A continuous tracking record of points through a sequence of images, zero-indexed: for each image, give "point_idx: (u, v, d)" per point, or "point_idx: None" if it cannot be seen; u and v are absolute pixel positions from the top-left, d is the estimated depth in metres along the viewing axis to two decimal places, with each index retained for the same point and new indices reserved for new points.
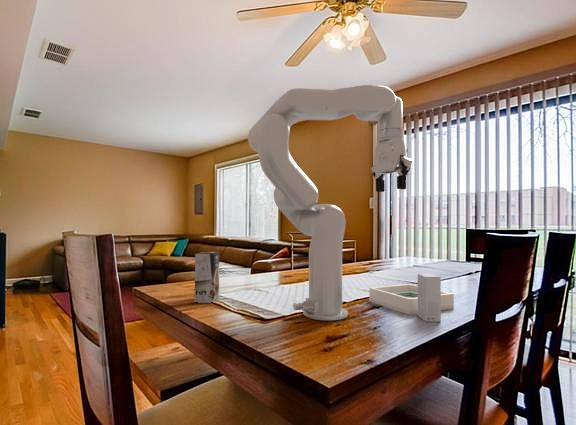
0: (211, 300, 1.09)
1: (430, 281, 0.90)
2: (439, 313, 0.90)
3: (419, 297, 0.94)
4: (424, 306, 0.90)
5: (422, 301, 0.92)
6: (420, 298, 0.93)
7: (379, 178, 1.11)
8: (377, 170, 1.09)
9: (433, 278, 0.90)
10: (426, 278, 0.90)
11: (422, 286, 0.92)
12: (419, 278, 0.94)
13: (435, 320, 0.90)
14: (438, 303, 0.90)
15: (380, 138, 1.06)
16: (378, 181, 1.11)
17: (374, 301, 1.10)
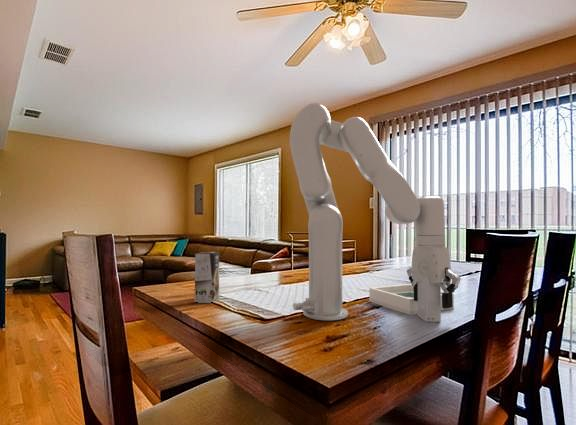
0: (211, 300, 1.09)
1: None
2: (439, 313, 0.90)
3: (419, 297, 0.94)
4: (424, 306, 0.90)
5: (422, 301, 0.92)
6: (420, 298, 0.93)
7: (417, 285, 0.97)
8: (416, 279, 0.94)
9: None
10: (426, 278, 0.90)
11: (422, 286, 0.92)
12: None
13: (435, 320, 0.90)
14: (438, 303, 0.90)
15: (419, 245, 0.92)
16: (416, 289, 0.96)
17: (374, 301, 1.10)
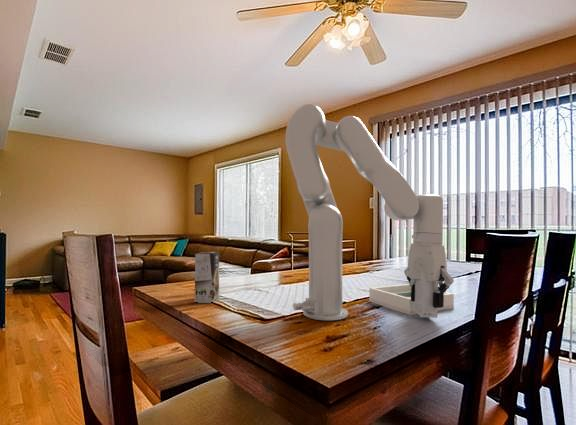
0: (211, 300, 1.09)
1: None
2: (436, 309, 0.90)
3: (416, 293, 0.94)
4: (421, 302, 0.90)
5: (419, 296, 0.92)
6: (417, 294, 0.93)
7: None
8: (411, 276, 0.94)
9: None
10: (424, 274, 0.90)
11: (420, 282, 0.92)
12: None
13: (432, 316, 0.90)
14: None
15: (416, 242, 0.92)
16: (414, 289, 0.96)
17: (374, 301, 1.10)
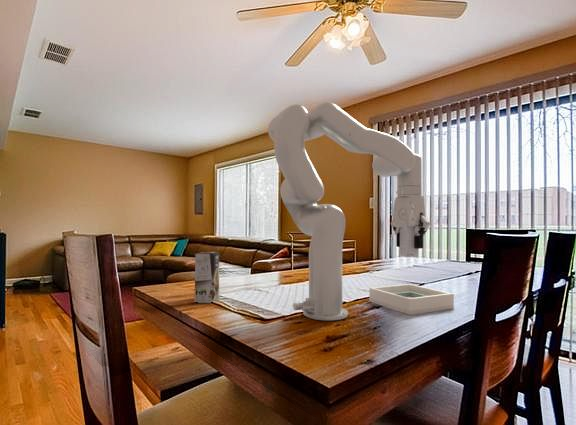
0: (211, 300, 1.09)
1: None
2: (417, 250, 1.06)
3: (401, 239, 1.10)
4: (405, 244, 1.06)
5: (403, 240, 1.08)
6: (401, 239, 1.09)
7: None
8: (396, 225, 1.10)
9: None
10: (406, 220, 1.06)
11: (403, 228, 1.08)
12: None
13: (413, 256, 1.06)
14: None
15: (399, 194, 1.08)
16: (399, 236, 1.12)
17: (374, 301, 1.10)
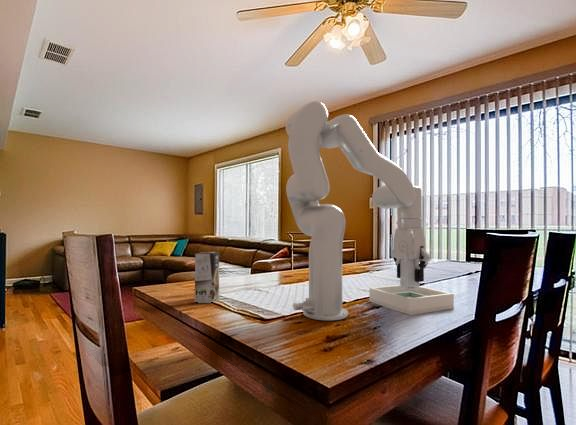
0: (211, 300, 1.09)
1: None
2: (417, 283, 1.05)
3: (401, 270, 1.10)
4: (405, 277, 1.06)
5: (404, 273, 1.07)
6: (402, 271, 1.09)
7: None
8: (396, 256, 1.10)
9: None
10: (407, 253, 1.06)
11: (404, 260, 1.07)
12: None
13: (414, 289, 1.05)
14: None
15: (400, 227, 1.08)
16: (399, 268, 1.11)
17: (374, 301, 1.10)
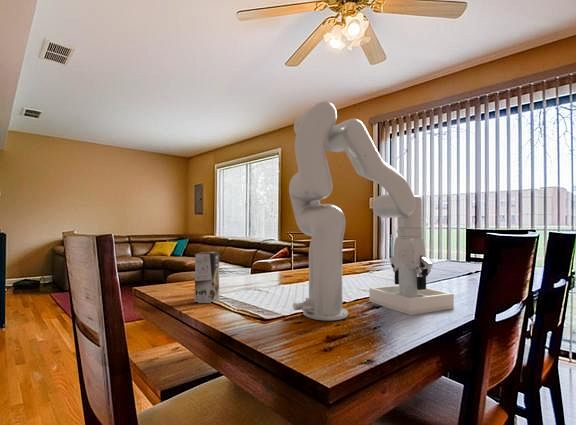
0: (211, 300, 1.09)
1: None
2: (416, 295, 1.05)
3: (400, 283, 1.10)
4: (404, 290, 1.06)
5: (402, 285, 1.07)
6: (401, 284, 1.09)
7: (398, 271, 1.13)
8: (396, 265, 1.10)
9: None
10: (405, 266, 1.06)
11: (402, 273, 1.07)
12: None
13: None
14: (415, 287, 1.05)
15: (400, 236, 1.08)
16: (397, 274, 1.12)
17: (374, 301, 1.10)
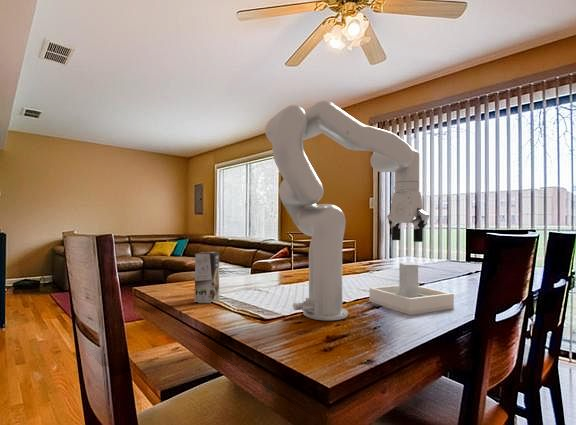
0: (211, 300, 1.09)
1: (409, 268, 1.06)
2: (417, 296, 1.05)
3: (400, 283, 1.10)
4: (404, 290, 1.06)
5: (403, 285, 1.07)
6: (401, 284, 1.09)
7: (395, 227, 1.13)
8: (393, 220, 1.11)
9: (412, 266, 1.06)
10: (406, 266, 1.06)
11: (403, 273, 1.07)
12: (400, 266, 1.10)
13: None
14: (416, 287, 1.05)
15: (397, 190, 1.08)
16: (394, 230, 1.13)
17: (374, 301, 1.10)
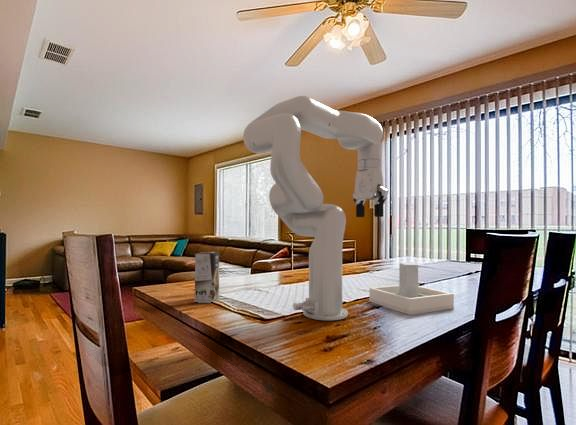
0: (211, 300, 1.09)
1: (409, 268, 1.06)
2: (417, 296, 1.05)
3: (400, 283, 1.10)
4: (404, 290, 1.06)
5: (403, 285, 1.07)
6: (401, 284, 1.09)
7: (359, 204, 1.18)
8: (357, 197, 1.15)
9: (412, 266, 1.06)
10: (406, 266, 1.06)
11: (403, 273, 1.07)
12: (400, 266, 1.10)
13: None
14: (416, 287, 1.05)
15: (359, 168, 1.13)
16: (358, 207, 1.17)
17: (374, 301, 1.10)
